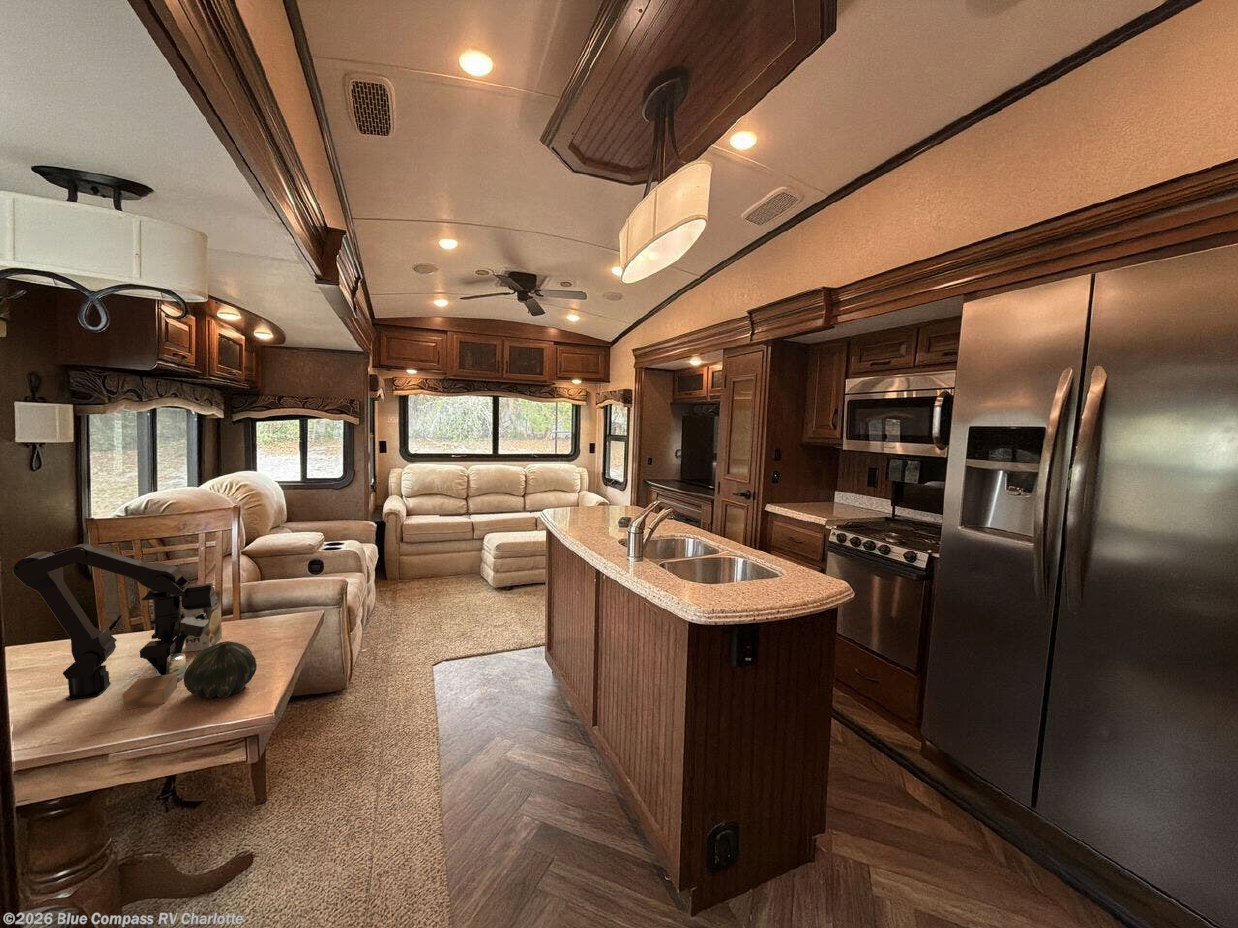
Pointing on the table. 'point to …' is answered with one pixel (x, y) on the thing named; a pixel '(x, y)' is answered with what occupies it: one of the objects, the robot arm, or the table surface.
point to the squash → (220, 670)
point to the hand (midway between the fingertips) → (171, 666)
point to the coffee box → (212, 629)
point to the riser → (150, 691)
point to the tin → (176, 666)
